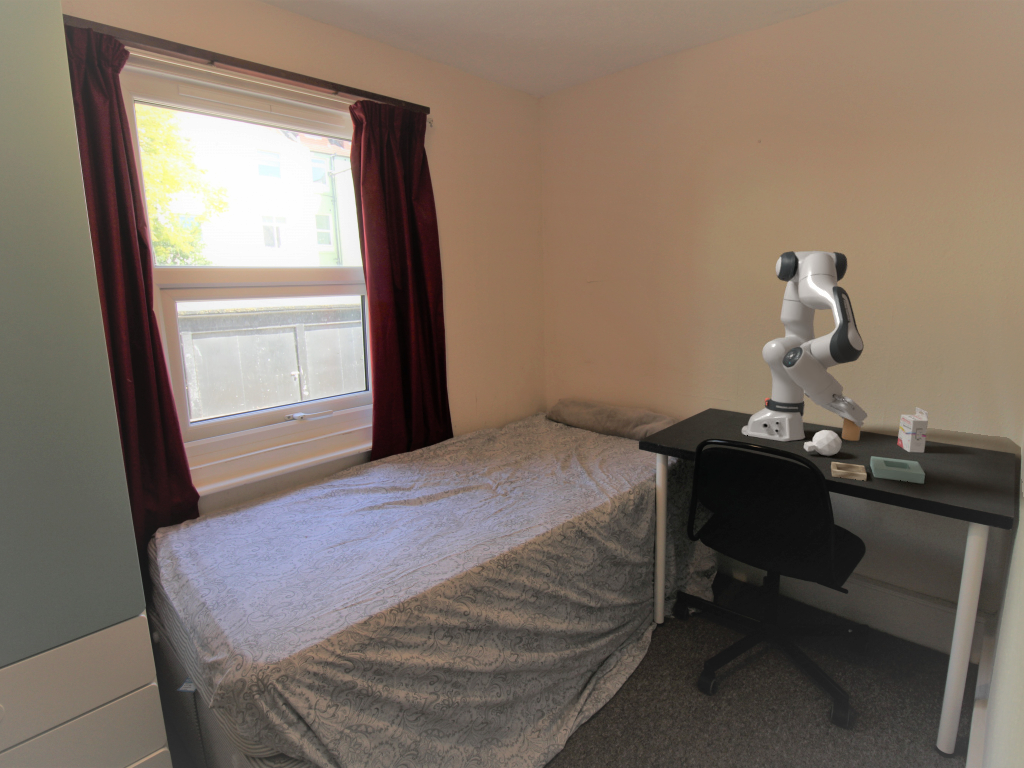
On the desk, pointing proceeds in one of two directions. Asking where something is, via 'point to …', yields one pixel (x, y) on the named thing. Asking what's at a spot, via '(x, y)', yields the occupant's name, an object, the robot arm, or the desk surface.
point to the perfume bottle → (824, 443)
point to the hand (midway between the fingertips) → (854, 422)
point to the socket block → (897, 469)
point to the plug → (850, 430)
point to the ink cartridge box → (913, 431)
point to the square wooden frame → (848, 471)
